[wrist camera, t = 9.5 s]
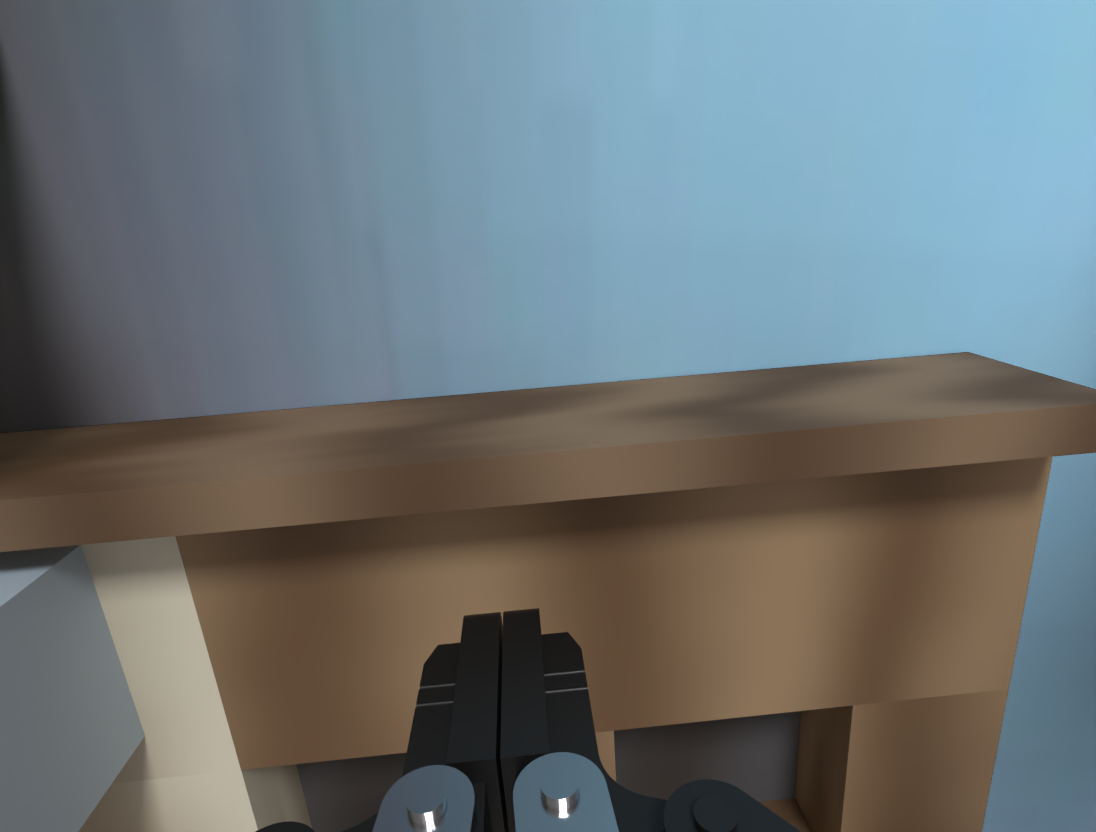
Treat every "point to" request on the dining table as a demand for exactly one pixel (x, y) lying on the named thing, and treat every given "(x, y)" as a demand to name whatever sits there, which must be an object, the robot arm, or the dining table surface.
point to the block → (58, 693)
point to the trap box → (572, 581)
